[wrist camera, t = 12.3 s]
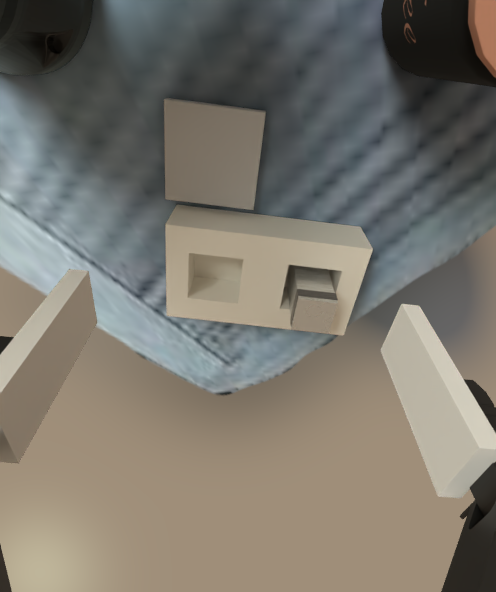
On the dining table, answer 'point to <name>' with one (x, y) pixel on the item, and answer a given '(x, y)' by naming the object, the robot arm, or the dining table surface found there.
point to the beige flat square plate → (212, 153)
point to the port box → (255, 265)
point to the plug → (311, 299)
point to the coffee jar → (443, 38)
